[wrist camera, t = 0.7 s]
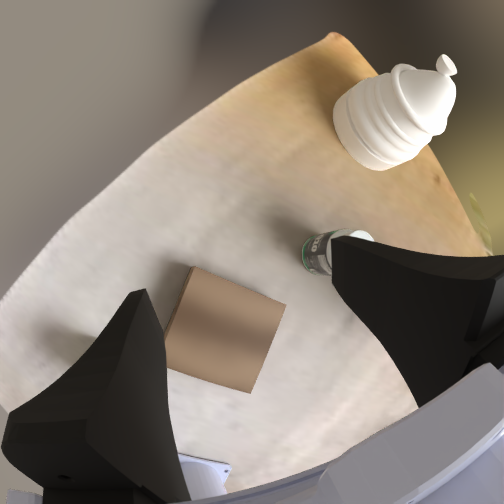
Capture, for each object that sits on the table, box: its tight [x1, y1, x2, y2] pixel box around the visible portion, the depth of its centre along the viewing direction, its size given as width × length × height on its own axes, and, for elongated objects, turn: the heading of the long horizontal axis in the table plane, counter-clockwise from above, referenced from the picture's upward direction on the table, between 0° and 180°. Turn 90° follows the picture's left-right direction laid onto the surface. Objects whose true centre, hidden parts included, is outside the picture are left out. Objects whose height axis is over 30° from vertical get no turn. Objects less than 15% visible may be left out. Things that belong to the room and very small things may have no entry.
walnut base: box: [164, 266, 286, 394], centre depth 30 cm, size 10×10×3 cm
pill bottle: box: [302, 229, 374, 276], centre depth 32 cm, size 5×5×8 cm
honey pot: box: [333, 54, 457, 171], centre depth 31 cm, size 13×13×18 cm
